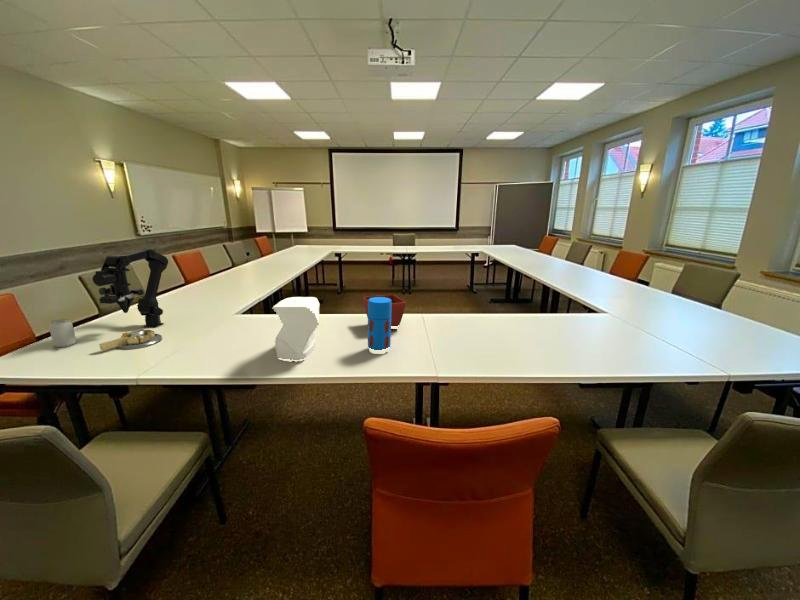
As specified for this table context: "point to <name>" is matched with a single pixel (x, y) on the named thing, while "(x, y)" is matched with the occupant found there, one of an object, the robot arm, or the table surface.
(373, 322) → the thermos
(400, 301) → the plant pot
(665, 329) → the table surface
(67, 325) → the can
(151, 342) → the cap plate
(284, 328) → the white irregular block
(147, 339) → the wooden gear crank
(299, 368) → the table surface
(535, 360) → the table surface
